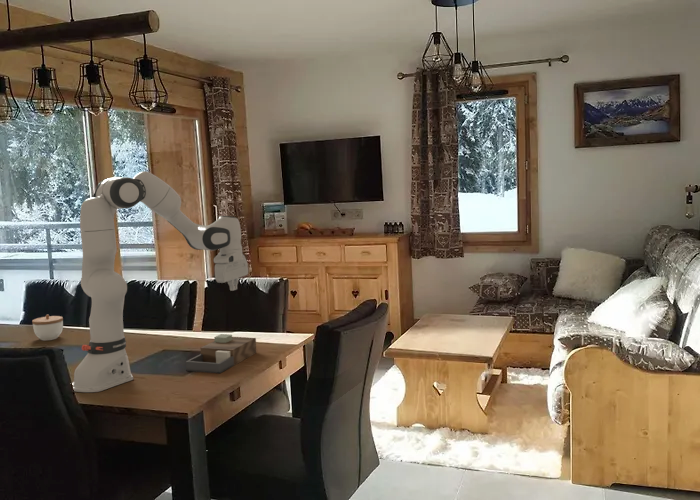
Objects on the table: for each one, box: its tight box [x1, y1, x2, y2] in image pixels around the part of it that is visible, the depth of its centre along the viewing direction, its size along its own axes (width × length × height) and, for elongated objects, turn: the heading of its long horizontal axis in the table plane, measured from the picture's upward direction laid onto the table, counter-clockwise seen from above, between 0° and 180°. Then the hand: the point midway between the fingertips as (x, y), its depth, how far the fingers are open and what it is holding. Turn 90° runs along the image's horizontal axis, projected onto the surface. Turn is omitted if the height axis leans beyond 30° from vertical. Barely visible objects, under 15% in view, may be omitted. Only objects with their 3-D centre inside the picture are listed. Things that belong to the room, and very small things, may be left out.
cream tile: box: [216, 350, 230, 363], centre depth 233 cm, size 5×5×2 cm
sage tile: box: [213, 333, 233, 343], centre depth 247 cm, size 5×5×2 cm
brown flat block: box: [199, 336, 258, 366], centre depth 245 cm, size 18×14×6 cm
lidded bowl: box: [31, 314, 64, 341], centre depth 286 cm, size 13×13×11 cm
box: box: [185, 353, 235, 374], centre depth 232 cm, size 10×14×4 cm
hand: (233, 290), depth 254 cm, fingers closed
